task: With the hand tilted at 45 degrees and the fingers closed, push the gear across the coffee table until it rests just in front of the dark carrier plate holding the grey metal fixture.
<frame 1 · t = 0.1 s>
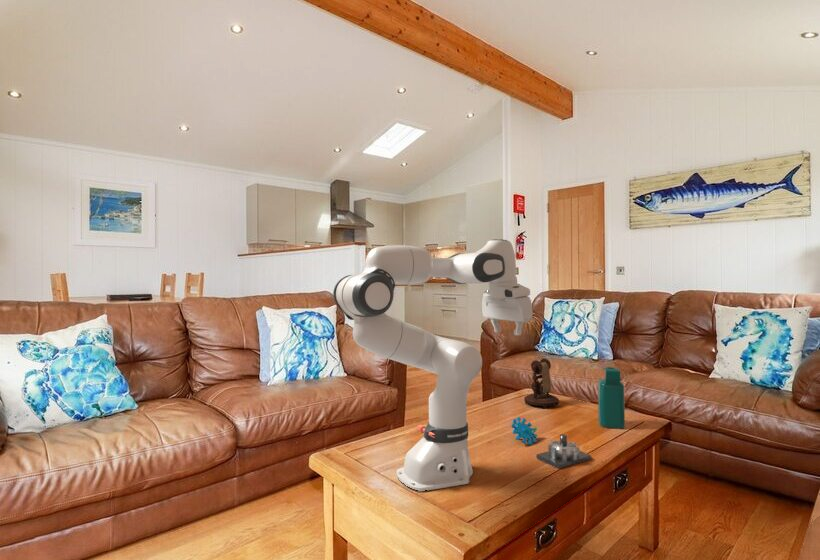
hand: (507, 333, 141), 39 cm above the table, tool pointing down, fingers open, 8 cm apart
green bottle: (611, 426, 167), on the table
gear: (525, 442, 153), on the table
dark brown figurine: (541, 404, 196), on the table
grey metal fixture: (563, 458, 138), on the table
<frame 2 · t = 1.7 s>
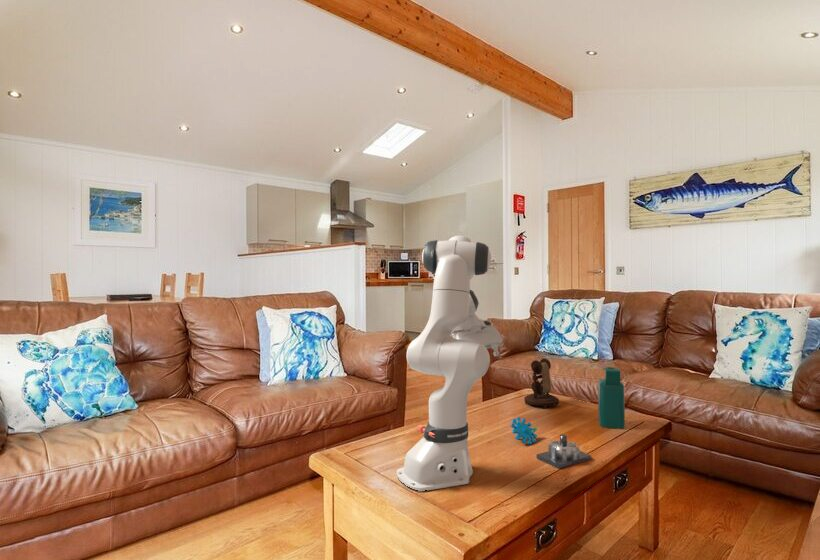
hand: (487, 356, 171), 26 cm above the table, tool tilted 45°, fingers open, 8 cm apart
nothing on the table moved.
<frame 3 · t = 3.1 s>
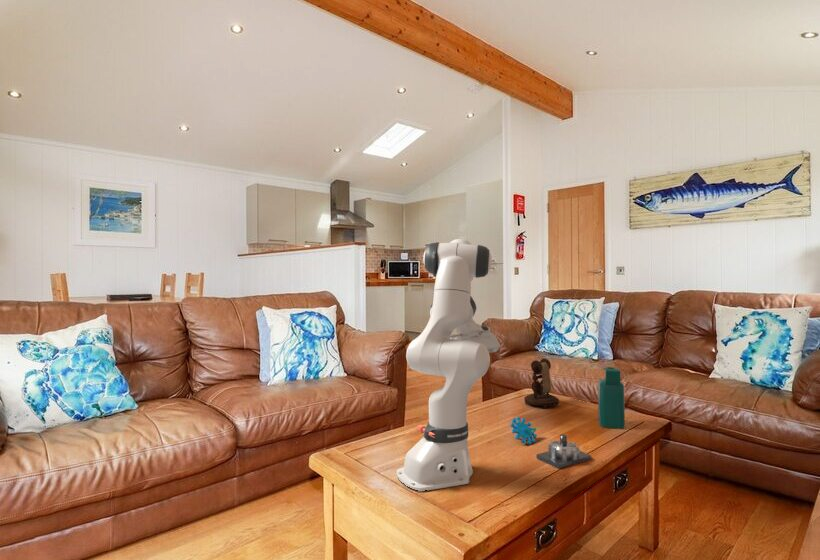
hand: (484, 361, 172), 24 cm above the table, tool tilted 45°, fingers closed
nothing on the table moved.
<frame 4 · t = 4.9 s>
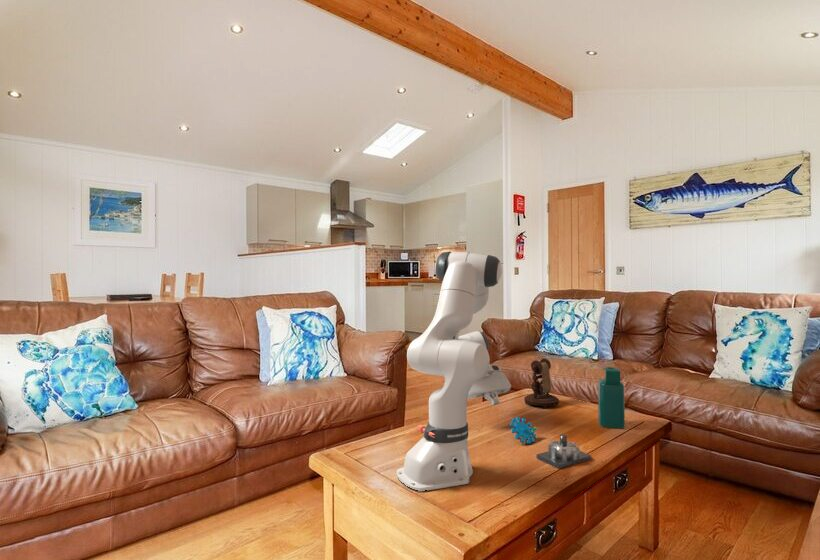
hand: (496, 404, 166), 9 cm above the table, tool tilted 45°, fingers closed
nothing on the table moved.
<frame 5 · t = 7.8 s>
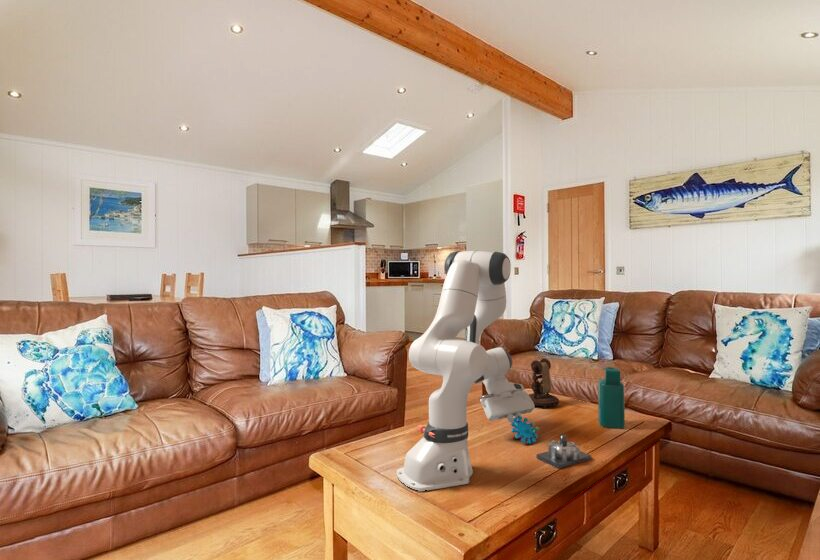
hand: (519, 426, 155), 4 cm above the table, tool tilted 45°, fingers closed, pressing on gear
gear: (525, 441, 153), on the table, touching gripper
everything else where it was.
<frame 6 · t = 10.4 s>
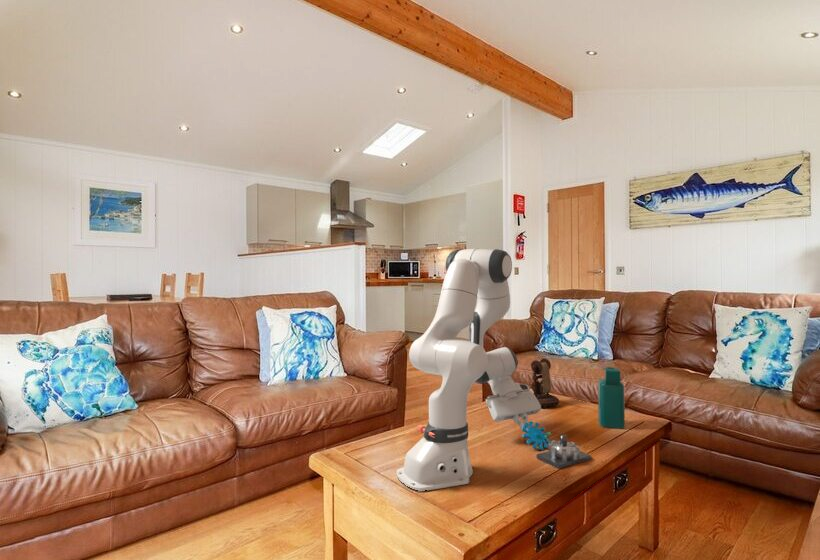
hand: (525, 427, 153), 5 cm above the table, tool tilted 45°, fingers closed
gear: (537, 447, 148), on the table
everything else where it was.
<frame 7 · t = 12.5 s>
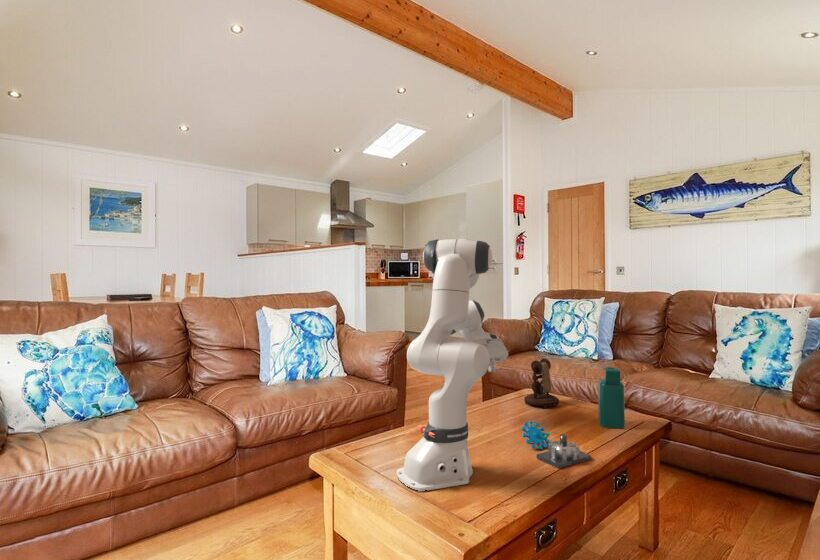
hand: (493, 370, 167), 21 cm above the table, tool tilted 45°, fingers closed
nothing on the table moved.
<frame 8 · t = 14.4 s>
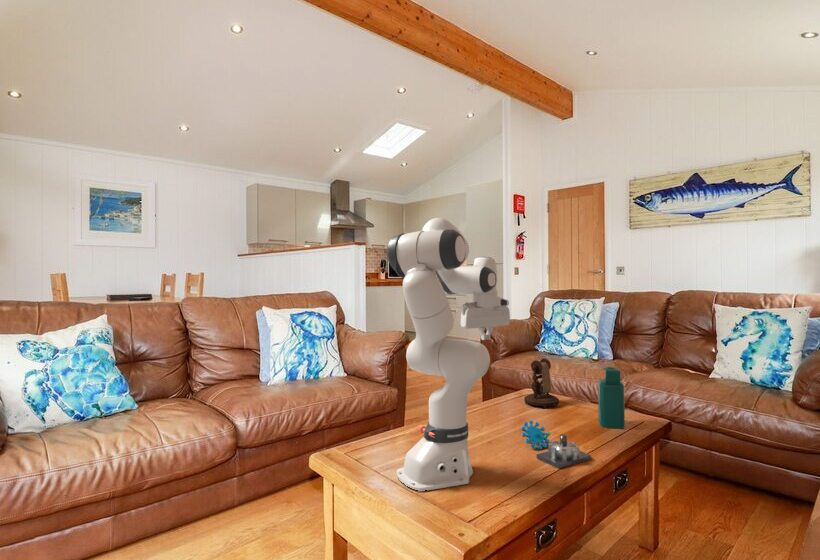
hand: (485, 339, 162), 34 cm above the table, tool pointing down, fingers closed
nothing on the table moved.
at the end: gear 12.2 cm from the grey metal fixture (horizontally); gear tilted 0° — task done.
